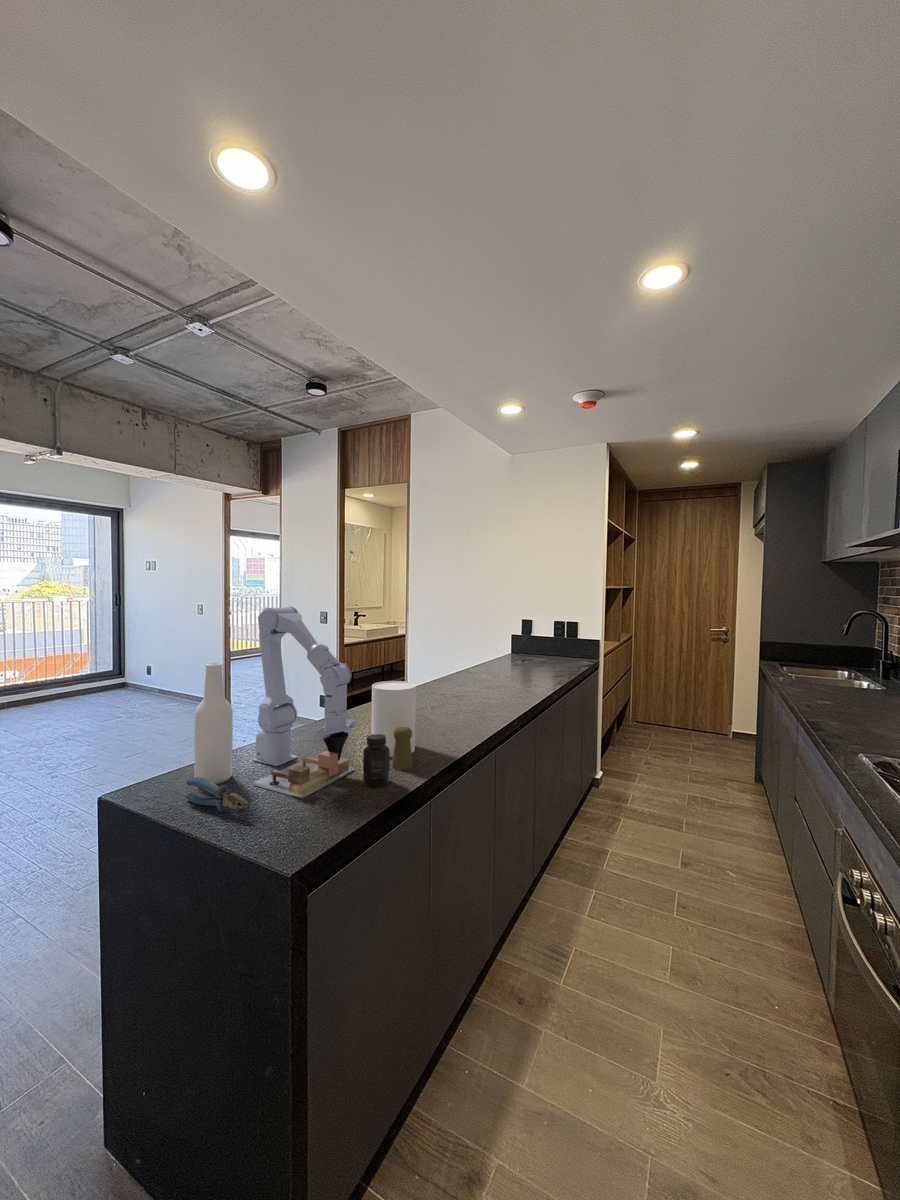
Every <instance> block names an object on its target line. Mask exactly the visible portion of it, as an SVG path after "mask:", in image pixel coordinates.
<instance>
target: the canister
mask: <svg viewBox="0 0 900 1200" xmlns="http://www.w3.org/2000/svg"><path fill="white" fill-rule="evenodd" d="M416 692H417V684H416V683H413V682H410V681H403V680H387V681H378V682H375V683H373V684H372V685H371V724H370V725H371V730H370V731H371V734H370V735H373V734H382V735H385V736H386V744H385V745H386V746H387V747H388V748H389V750H390V758H393V753H394V746H395V738H394V730H395V729H396V728H397V727H409V728H410V729H411V731H412V737H411V739H410V744H411V752H412V753H414V752H415V751H416V750H415V749H416V708H417V707H416V706H417V703H416V702H417V700H416V699H417V693H416Z"/></svg>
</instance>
